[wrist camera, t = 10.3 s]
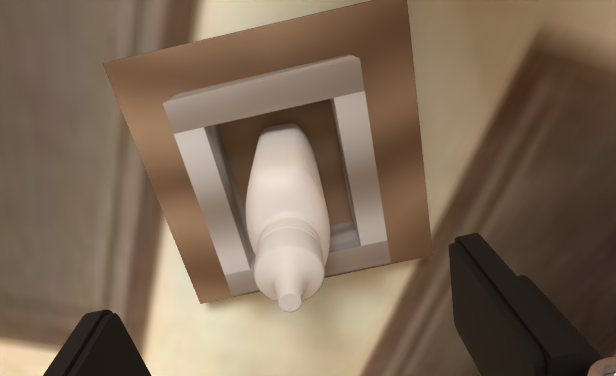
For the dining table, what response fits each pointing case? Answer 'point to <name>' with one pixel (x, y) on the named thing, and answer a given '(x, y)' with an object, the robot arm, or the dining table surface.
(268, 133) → the eye dropper bottle
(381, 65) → the bottle stand
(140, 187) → the dining table surface
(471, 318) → the robot arm
